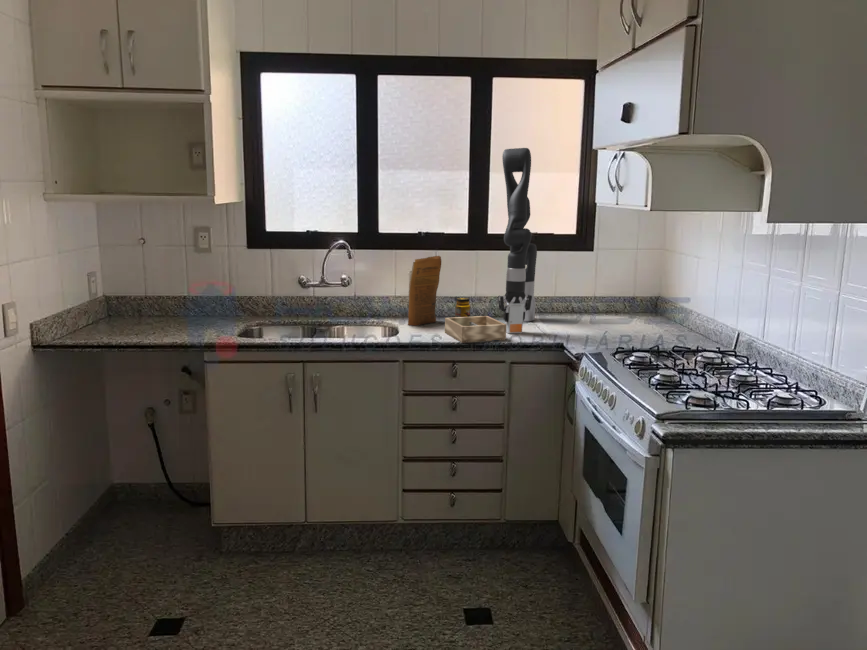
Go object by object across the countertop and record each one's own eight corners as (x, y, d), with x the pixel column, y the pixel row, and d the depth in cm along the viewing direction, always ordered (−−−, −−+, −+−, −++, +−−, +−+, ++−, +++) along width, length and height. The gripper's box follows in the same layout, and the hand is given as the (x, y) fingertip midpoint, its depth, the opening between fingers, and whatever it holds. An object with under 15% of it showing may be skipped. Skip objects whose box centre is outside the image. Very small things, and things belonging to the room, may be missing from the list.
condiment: (473, 328, 295) (474, 299, 293) (455, 329, 292) (455, 300, 289) (464, 324, 302) (465, 296, 299) (446, 326, 298) (447, 297, 296)
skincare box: (508, 333, 286) (509, 303, 283) (504, 331, 290) (505, 302, 287) (522, 333, 287) (524, 303, 285) (518, 331, 291) (519, 301, 289)
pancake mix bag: (445, 321, 307) (446, 255, 302) (412, 327, 294) (413, 258, 288) (434, 319, 312) (435, 254, 306) (401, 325, 298) (402, 257, 293)
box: (486, 330, 291) (487, 315, 290) (505, 340, 274) (506, 324, 273) (444, 332, 285) (445, 317, 284) (461, 342, 268) (462, 326, 267)
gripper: (528, 277, 290) (526, 318, 293) (495, 278, 285) (493, 320, 289) (536, 280, 283) (534, 322, 286) (503, 281, 278) (501, 323, 282)
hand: (514, 321), depth 287 cm, fingers closed on skincare box, 6 cm apart
